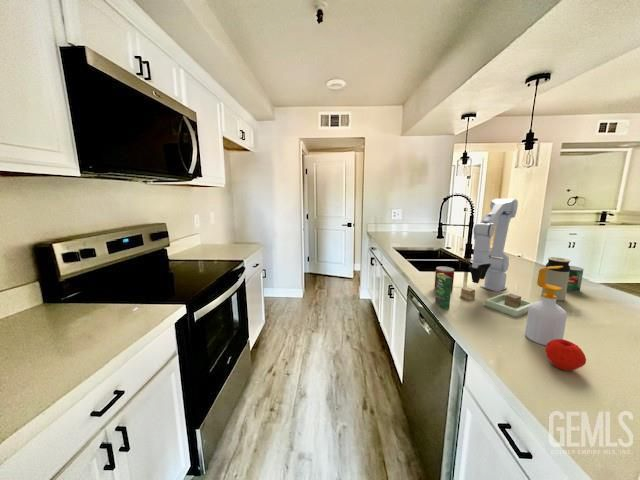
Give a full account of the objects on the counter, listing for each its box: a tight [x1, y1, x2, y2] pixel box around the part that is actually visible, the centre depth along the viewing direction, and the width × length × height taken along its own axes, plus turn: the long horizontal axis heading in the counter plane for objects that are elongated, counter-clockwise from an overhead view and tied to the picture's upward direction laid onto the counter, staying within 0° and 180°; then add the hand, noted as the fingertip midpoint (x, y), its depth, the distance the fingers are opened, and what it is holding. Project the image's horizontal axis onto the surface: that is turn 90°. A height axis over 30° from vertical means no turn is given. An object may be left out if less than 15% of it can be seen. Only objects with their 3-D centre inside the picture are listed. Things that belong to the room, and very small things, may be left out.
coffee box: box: [434, 273, 452, 310], centre depth 109 cm, size 8×3×13 cm, turn 0°
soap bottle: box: [524, 266, 568, 346], centre depth 82 cm, size 9×9×25 cm
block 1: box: [460, 286, 476, 300], centre depth 118 cm, size 4×4×4 cm
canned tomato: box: [566, 265, 584, 293], centre depth 127 cm, size 8×8×11 cm
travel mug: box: [541, 256, 572, 302], centre depth 116 cm, size 8×8×18 cm
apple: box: [544, 338, 587, 372], centre depth 70 cm, size 8×8×7 cm
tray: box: [483, 293, 533, 318], centre depth 107 cm, size 14×12×3 cm
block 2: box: [504, 293, 522, 308], centre depth 108 cm, size 4×4×4 cm
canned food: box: [434, 265, 455, 293], centre depth 126 cm, size 8×8×11 cm
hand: (478, 280), depth 115 cm, fingers open, 7 cm apart
